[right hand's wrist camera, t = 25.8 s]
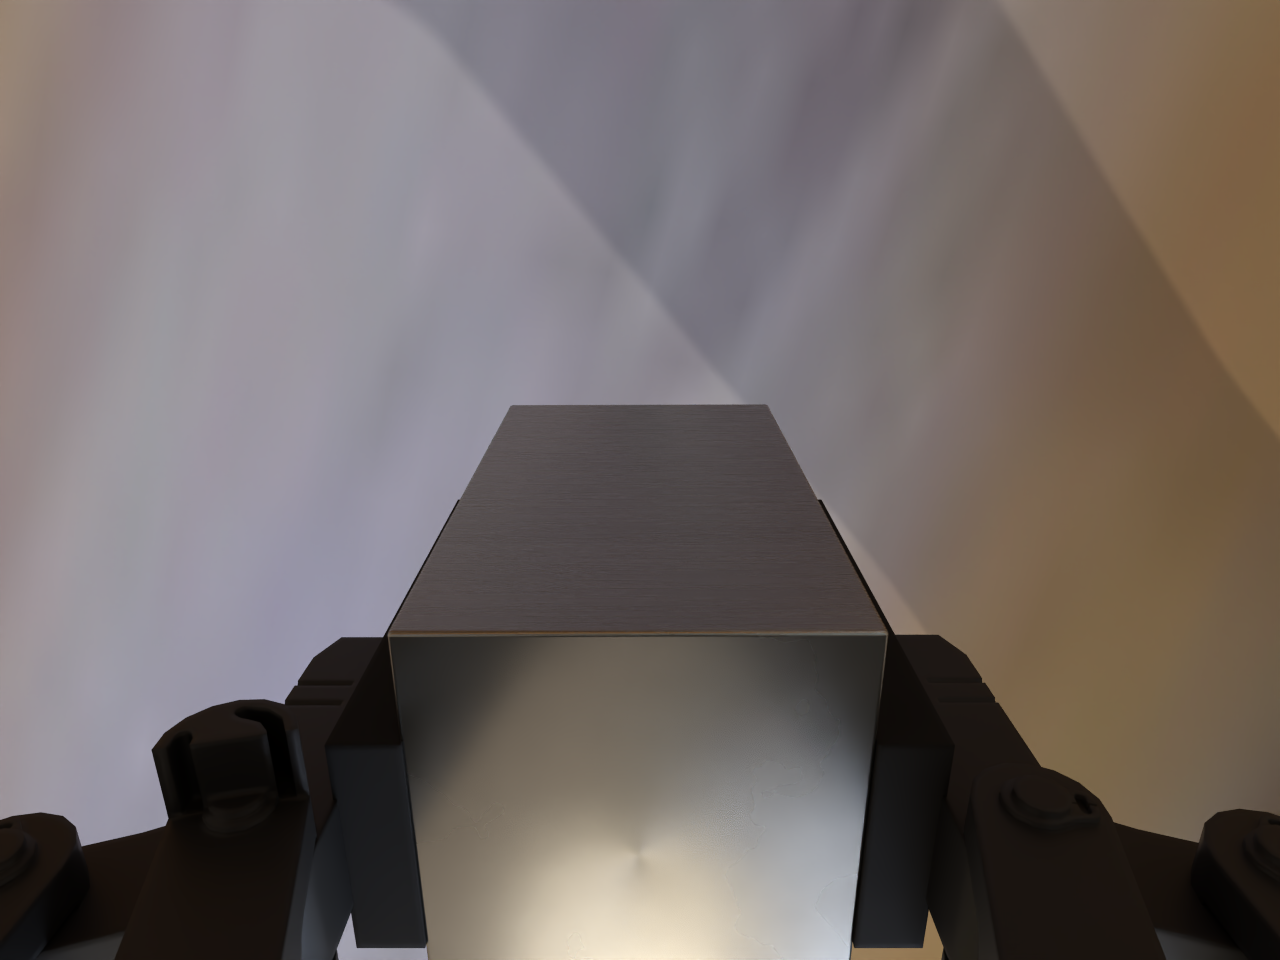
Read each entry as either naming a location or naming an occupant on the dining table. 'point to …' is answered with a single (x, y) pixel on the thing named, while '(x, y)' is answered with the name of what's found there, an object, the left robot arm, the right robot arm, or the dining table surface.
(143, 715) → the dining table surface
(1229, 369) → the dining table surface
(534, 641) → the brick
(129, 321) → the dining table surface
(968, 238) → the dining table surface
